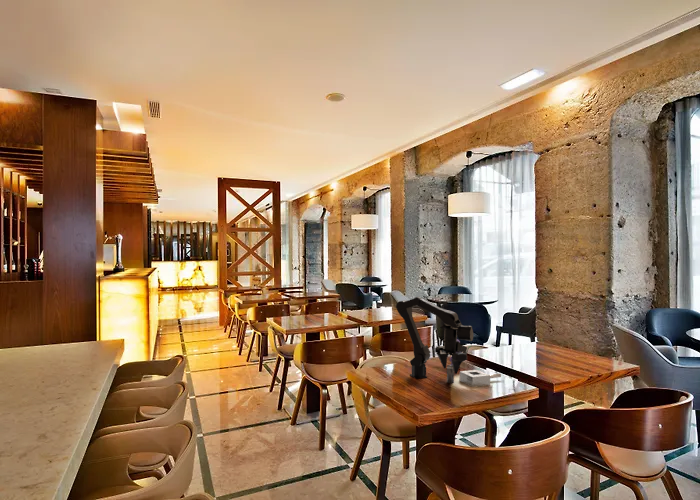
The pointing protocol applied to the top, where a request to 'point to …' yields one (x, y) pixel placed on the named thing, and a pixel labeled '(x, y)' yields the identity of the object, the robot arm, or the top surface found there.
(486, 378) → the grey holed paddle
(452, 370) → the dark metal cylinder
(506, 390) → the top surface
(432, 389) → the top surface
